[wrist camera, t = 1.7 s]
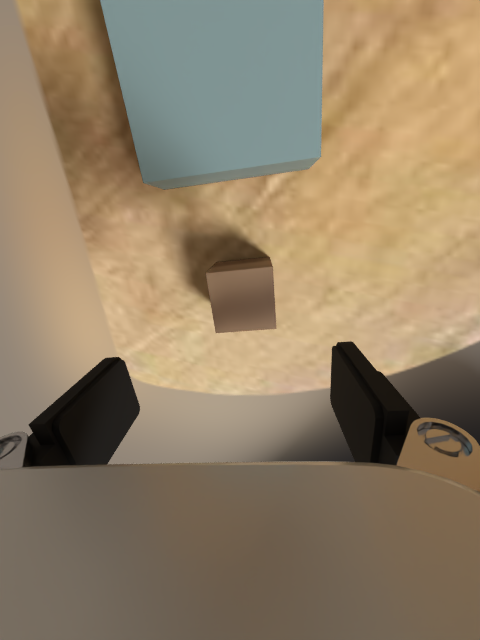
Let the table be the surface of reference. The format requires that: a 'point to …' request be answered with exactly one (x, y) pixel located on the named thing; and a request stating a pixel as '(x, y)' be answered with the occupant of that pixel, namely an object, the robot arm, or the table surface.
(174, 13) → the plinth block
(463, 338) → the table surface
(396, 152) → the table surface
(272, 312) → the walnut cube
